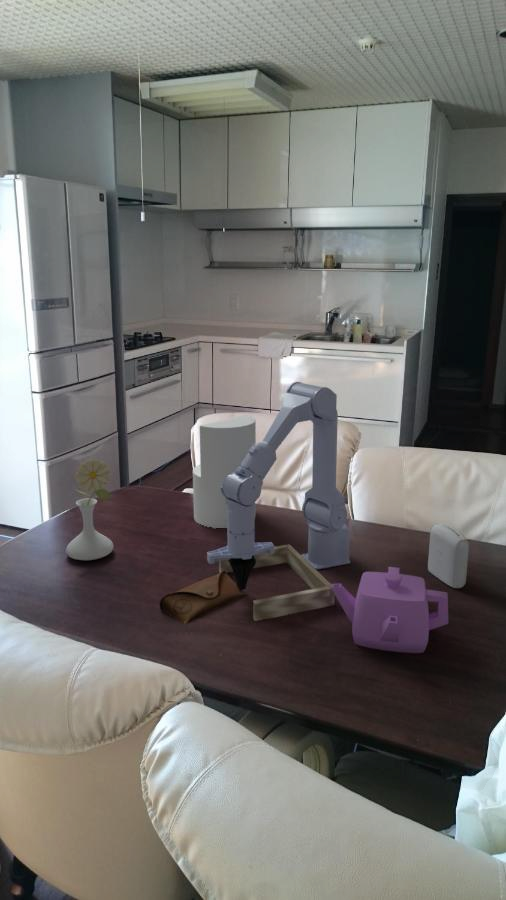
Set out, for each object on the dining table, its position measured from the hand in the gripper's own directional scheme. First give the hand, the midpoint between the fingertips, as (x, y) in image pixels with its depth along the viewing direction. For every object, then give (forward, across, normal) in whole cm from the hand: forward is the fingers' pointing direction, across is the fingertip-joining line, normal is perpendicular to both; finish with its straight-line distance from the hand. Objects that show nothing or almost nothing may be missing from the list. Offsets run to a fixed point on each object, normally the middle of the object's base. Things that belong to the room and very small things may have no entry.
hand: (241, 587), depth 139 cm
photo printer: (+2, +46, -10) cm, 47 cm away
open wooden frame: (+1, +8, 0) cm, 8 cm away
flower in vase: (+2, -27, +31) cm, 41 cm away
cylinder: (+2, +11, +43) cm, 44 cm away
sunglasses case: (+2, -8, 0) cm, 8 cm away
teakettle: (+2, +21, -25) cm, 33 cm away
